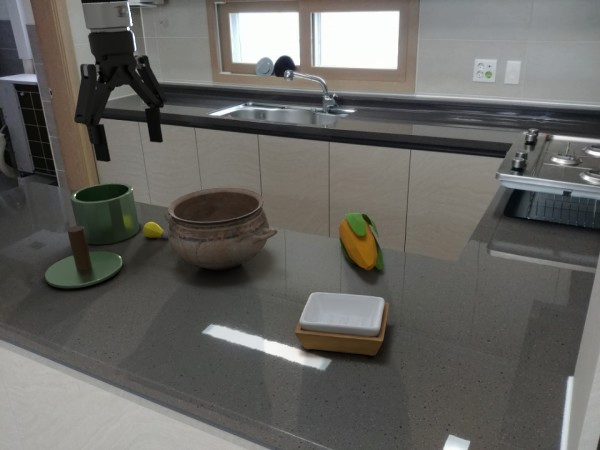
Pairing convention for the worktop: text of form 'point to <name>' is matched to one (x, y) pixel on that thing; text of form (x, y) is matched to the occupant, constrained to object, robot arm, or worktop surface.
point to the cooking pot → (218, 227)
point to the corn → (360, 241)
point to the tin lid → (82, 264)
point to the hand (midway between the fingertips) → (131, 150)
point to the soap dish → (343, 323)
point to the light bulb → (154, 231)
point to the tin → (106, 212)
